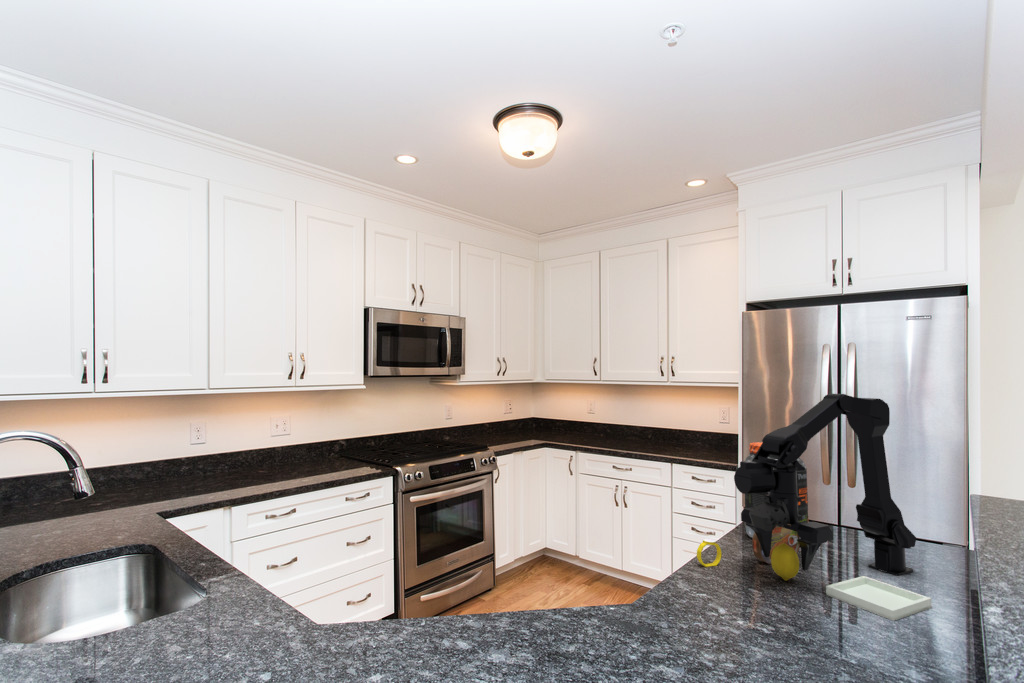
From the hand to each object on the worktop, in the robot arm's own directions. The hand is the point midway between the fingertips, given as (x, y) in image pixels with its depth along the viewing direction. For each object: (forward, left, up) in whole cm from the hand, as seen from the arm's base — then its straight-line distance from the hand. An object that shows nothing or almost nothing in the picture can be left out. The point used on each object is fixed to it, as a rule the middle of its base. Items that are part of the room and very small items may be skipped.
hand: (785, 563), depth 114 cm
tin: (-10, -10, -4) cm, 15 cm away
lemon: (0, 0, -4) cm, 4 cm away
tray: (-7, +15, -4) cm, 17 cm away
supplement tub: (-24, -21, -4) cm, 32 cm away
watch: (+8, -14, -4) cm, 17 cm away
